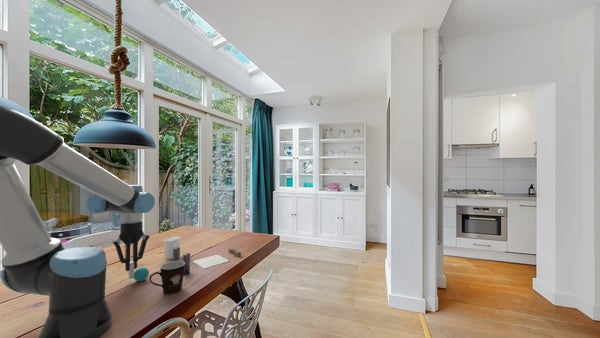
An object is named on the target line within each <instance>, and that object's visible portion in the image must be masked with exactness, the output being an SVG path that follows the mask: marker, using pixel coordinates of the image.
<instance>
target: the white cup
mask: <svg viewBox="0 0 600 338" xmlns="http://www.w3.org/2000/svg"><path fill="white" fill-rule="evenodd" d="M163 244H164V258H165V259H167V260H173V248H175V247H180V248H181V237H179V236H173V237H167V238H165V239H164V243H163Z"/></svg>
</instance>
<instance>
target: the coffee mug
mask: <svg viewBox="0 0 600 338" xmlns="http://www.w3.org/2000/svg"><path fill="white" fill-rule="evenodd" d="M184 268H185V262H184V261H183V260H180V261H173V260H172V261H168V262H165V263H163V264H161V265H160V268H159V269H160V271H157V272H156V271H155V272H153V273H151V274H150V275H149V277H148V278H149V282H150V284H152V285H154V286H157V287H161V288H162V293H163V294H164V295H173V294H177V293H179V292H181V291H182V290H183V289H182V288H183V281H184V276H185V275H184ZM155 275H159V277H161V283H162V284H160V283H156V282H154V281H152V277H153V276H155Z"/></svg>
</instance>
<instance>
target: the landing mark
mask: <svg viewBox="0 0 600 338" xmlns="http://www.w3.org/2000/svg"><path fill="white" fill-rule="evenodd" d="M228 261H229V262H230V259H227V258H225V257H223V256H221V255H219V254H215V255H210V256H206V257H202V258H199V259H196V260H192V262H193V264H195V265H197V266H198V267H200V268H202V269H203V270H205V269H208V268H211V267H214V266H215V267H216V266H218V265H222V264H225V262H226V263H228Z"/></svg>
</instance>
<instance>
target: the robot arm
mask: <svg viewBox="0 0 600 338" xmlns="http://www.w3.org/2000/svg"><path fill="white" fill-rule="evenodd" d="M16 160H17V161H20V162H21V163H23V164H25V165H28V166H39V167H41V168H43V169H44V170H46V171H49V172H51V173H52V174H54V175H56V176H59V177H60V178H63V179H65V180H67V181H69V182H70V183H72V184H73V185H76V186H78V187H80V188H82V189H84V190H87V191H88V192H90V193H91V194H89V196H88V197H87V198H86V203H85V205H86V209H87V210H88V212H90V213H92V214H103V213H109V212H111V213H120V222H121V223H120V228H119V229H120V234H119V235H118V238H115V239H114V240H112V242H111V243H112V244H113V246H114V247H115V250H116V253H117V256H118V259H119V262H120V263H121V264H124V265H125V267H124V268H125V271H126V272H128V273H127V274H128V276H127V278H128V279H129V280H131V279H134V272H135V269H136V270H137V269H138V261H139V260H141V259H143V256H144V252H145V250H146V246H147V242H148V240H149V238H150V235H149V234H145V233H144V231H143V221H142V220H143V216H144V215H143V214H145V213H149V212H150V211H152V210H153V208H154V206H155V205H156V203H155V202H156V200H155V196H154V195H153V194H152V193H150V192H145V191H143V189H144V188H143V186H142V185H141V184H128V183H126V182H125V181H123V180H121V178H118V176H116V175H114V174H113V173H111V172H109V171H108V170H106V169H104V168H103V167H101V166H100V165H98V164H97V163H95V162H94V161H92V160H91V159H89V158H88V157H86V156H84V154H81V153H79V152H78V151H76V150H75V149H74V148H72V147H70V146H69V145H67V144H66V143H65V141H64V137H63V136H61V135H60V134H58V133H56V132H54V130H52V129H51V128H49V127H47V126H45V125H44V124H42V123H41V122H39V121H37V120H35V119H34V118H32V117H30V116H28V115H26V114H24V113H22V112H20V111H18V110H15V109H12V108H10V107H7V106H3V105H0V245H1V247H2V248H3V250H4V252H5V253H6V254H5V255H4V257H3V258H2V259H1V262H0V263H1V265H2V266H3V270H2V271H1V273H0V278H1V279H0V280H1V282H2V284H3V285H4V286H5V287H6V288H7V289H9V290H11V291H13V292H15V293H16V292H17V293H21V294H32V295H33V294H34V295H40V296H46V297H49V298H48V299H49V300H48V314H47V318H46V319H45V322H44V324H43V327H42V328H41V331H40V333H39V336H38V338H99V337H101V335H103V334H105V332H106V331H107V330H109V328H110V327H111V326H112V321H113V320H112V319H113V318H112V312H111V310H110V308H109V305H108V303H107V300H106V282H107V281H106V280H107V278H106V277H107V263H108V262H107V256H106V255H107V254H106V252H105V251H104V249H102V248H99V247H94V246H84V247H83V246H79V247H70V248H66V249H65V248H64V246H63V244H62V242H61V239H59V238H56V237H51V236H50V234H49V232H48V230H47V227H46V226H45V224H44V221H43V219H42V218H41V215H40V213H39V211H38V209H37V208H36V205H35V203H34V201H33V198H31V195H30V193H29V191H28V189H27V187H26V184H25V183H24V181H23V179H22V177H21V174H20V173H19V171H18V169H17V167H16V165H15V161H16ZM141 239H142V240H141ZM140 240H141V242H140ZM121 242H123V244H124V246H125V251H124V254H125V256H124V254H123V251H122V248H121V247H122V246H121V245H120V244H121ZM139 242H140V247H138V245H139ZM131 245H132V260H131ZM138 249H139V250H138Z"/></svg>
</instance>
